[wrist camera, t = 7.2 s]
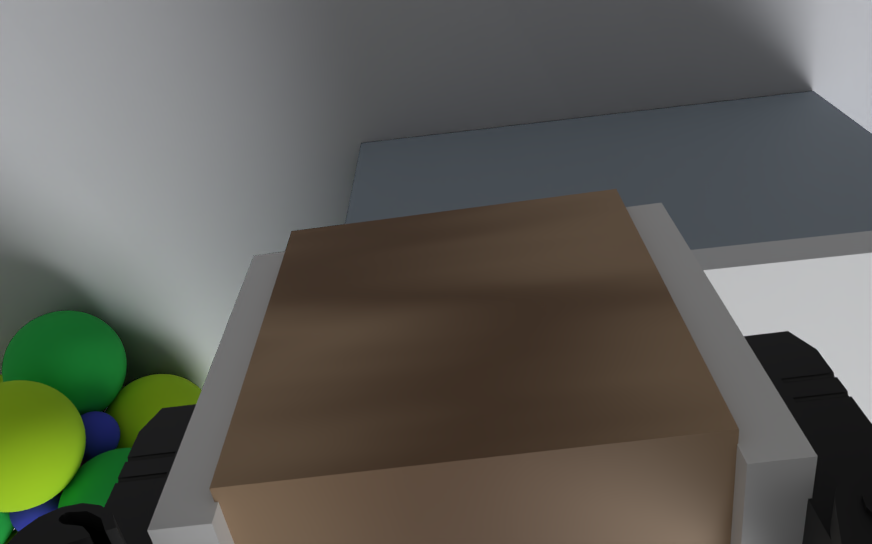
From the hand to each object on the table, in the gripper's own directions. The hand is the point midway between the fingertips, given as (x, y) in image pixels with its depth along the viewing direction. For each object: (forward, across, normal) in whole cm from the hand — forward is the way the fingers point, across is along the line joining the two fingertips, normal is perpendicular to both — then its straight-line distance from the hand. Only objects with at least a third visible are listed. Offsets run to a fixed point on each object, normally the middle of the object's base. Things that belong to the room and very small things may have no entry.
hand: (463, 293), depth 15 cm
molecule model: (+15, -16, -12) cm, 25 cm away
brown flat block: (0, 0, 0) cm, 0 cm away
